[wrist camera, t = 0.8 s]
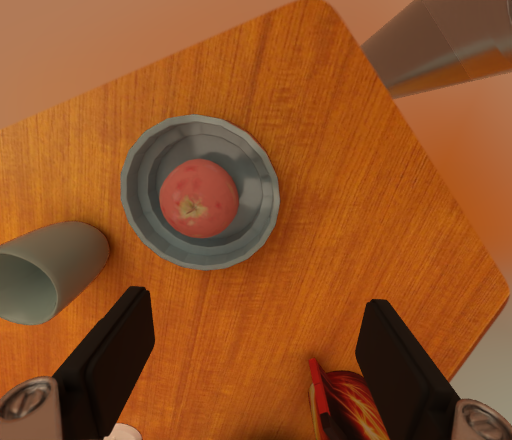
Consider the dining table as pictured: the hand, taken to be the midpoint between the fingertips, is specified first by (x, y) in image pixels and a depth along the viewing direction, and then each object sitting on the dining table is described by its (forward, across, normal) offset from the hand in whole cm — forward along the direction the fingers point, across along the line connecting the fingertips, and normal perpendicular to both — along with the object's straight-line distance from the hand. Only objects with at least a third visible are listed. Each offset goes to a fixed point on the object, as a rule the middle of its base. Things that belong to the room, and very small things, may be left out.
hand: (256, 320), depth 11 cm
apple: (+19, +6, -1) cm, 20 cm away
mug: (+20, -12, +29) cm, 37 cm away
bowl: (+20, +6, -1) cm, 20 cm away
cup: (+20, +21, +6) cm, 30 cm away
